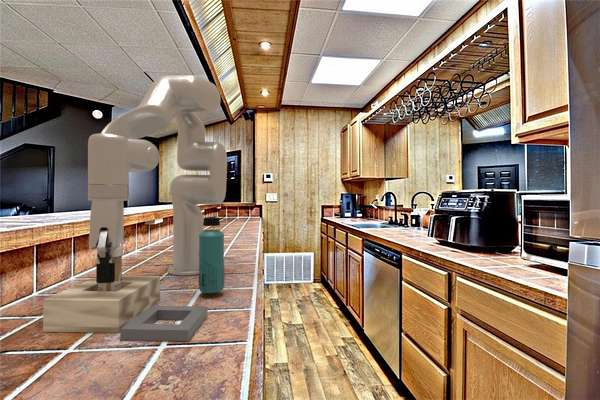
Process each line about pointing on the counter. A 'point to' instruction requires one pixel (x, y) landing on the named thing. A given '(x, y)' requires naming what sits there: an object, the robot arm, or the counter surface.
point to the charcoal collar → (148, 331)
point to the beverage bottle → (211, 258)
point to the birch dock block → (100, 305)
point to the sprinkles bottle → (118, 272)
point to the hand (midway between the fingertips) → (109, 277)
